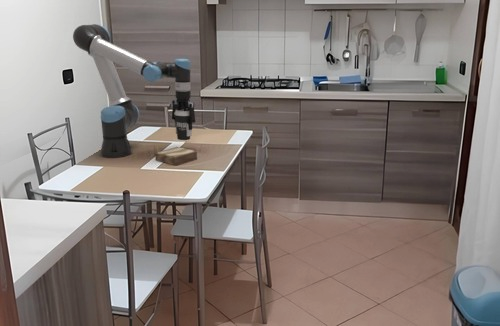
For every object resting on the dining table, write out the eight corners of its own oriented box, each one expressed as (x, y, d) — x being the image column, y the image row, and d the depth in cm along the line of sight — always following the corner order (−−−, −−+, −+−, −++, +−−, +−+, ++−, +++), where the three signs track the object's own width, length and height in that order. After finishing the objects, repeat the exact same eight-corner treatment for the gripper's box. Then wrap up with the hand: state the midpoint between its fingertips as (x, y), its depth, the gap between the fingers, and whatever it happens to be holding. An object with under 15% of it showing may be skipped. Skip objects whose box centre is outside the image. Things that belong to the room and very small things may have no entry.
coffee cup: (170, 139, 250) (170, 110, 246) (180, 135, 259) (180, 107, 254) (187, 141, 247) (187, 112, 242) (196, 137, 255) (196, 109, 251)
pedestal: (155, 160, 235) (155, 152, 234) (176, 154, 246) (176, 146, 245) (175, 165, 227) (175, 157, 226) (196, 158, 237) (196, 150, 236)
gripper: (163, 88, 249) (164, 132, 255) (192, 93, 237) (192, 139, 243) (174, 87, 254) (175, 130, 261) (202, 91, 242) (202, 136, 249)
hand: (183, 134), depth 252 cm, fingers closed on coffee cup, 7 cm apart
